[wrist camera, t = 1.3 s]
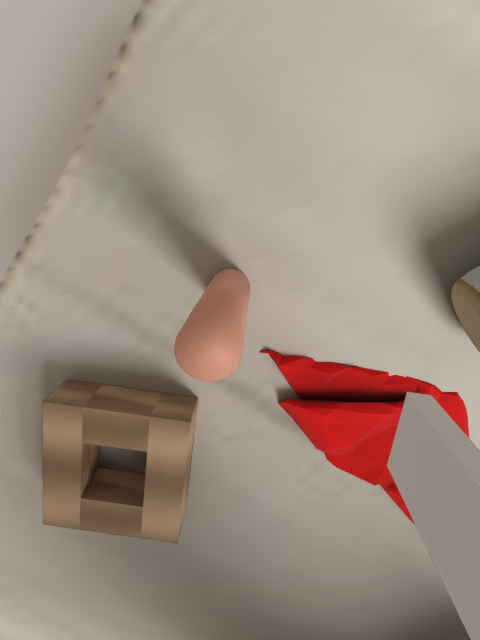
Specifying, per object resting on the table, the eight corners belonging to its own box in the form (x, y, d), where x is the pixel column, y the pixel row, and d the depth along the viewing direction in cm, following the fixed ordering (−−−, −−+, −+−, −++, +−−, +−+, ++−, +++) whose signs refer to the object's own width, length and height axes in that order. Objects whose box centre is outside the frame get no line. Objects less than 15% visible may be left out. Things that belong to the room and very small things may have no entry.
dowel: (246, 309, 32) (237, 385, 19) (208, 304, 32) (171, 376, 19) (252, 271, 31) (246, 322, 18) (212, 265, 31) (177, 313, 18)
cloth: (533, 507, 37) (550, 526, 34) (395, 576, 39) (403, 598, 37) (377, 267, 32) (386, 272, 29) (231, 364, 34) (229, 375, 32)
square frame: (186, 508, 37) (177, 543, 34) (64, 491, 38) (42, 524, 34) (198, 397, 34) (190, 422, 31) (66, 379, 35) (42, 401, 31)
